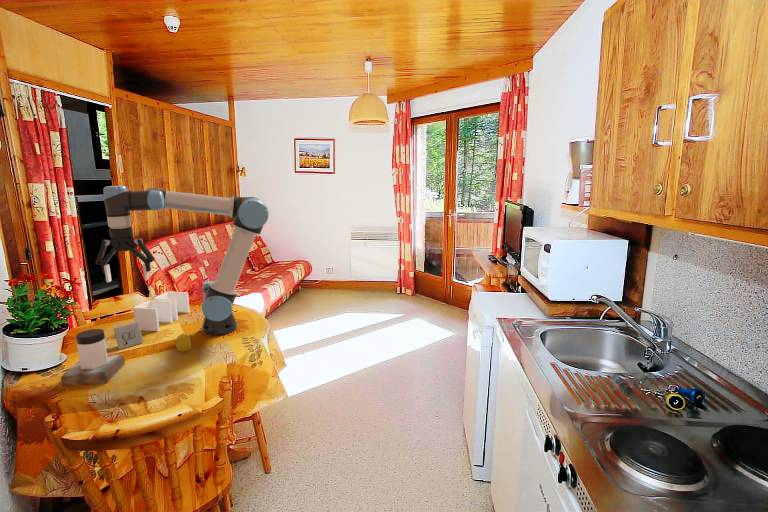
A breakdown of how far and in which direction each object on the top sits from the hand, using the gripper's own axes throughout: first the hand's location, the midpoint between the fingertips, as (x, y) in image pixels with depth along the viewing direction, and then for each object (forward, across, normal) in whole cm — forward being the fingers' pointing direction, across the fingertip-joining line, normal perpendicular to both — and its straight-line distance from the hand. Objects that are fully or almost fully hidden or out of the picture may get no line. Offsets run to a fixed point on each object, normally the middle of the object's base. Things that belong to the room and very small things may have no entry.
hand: (128, 280), depth 160 cm
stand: (+30, +8, +18) cm, 36 cm away
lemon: (+30, -18, +4) cm, 36 cm away
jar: (+26, +8, +18) cm, 33 cm away
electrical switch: (+30, +6, -7) cm, 31 cm away
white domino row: (+30, 0, -34) cm, 46 cm away
